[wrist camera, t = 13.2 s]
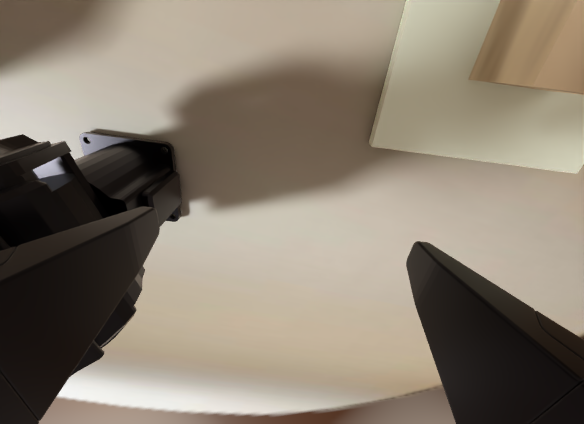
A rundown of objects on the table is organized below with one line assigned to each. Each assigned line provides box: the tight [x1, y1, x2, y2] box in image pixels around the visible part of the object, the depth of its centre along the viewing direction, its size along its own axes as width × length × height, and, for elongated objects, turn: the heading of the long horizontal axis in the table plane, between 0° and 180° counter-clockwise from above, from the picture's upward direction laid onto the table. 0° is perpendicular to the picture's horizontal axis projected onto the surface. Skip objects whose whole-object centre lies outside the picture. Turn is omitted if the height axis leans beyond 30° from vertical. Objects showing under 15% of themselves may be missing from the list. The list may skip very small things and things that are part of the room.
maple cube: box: [468, 0, 584, 95], centre depth 12 cm, size 5×5×5 cm
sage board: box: [369, 0, 584, 174], centre depth 15 cm, size 14×14×1 cm
